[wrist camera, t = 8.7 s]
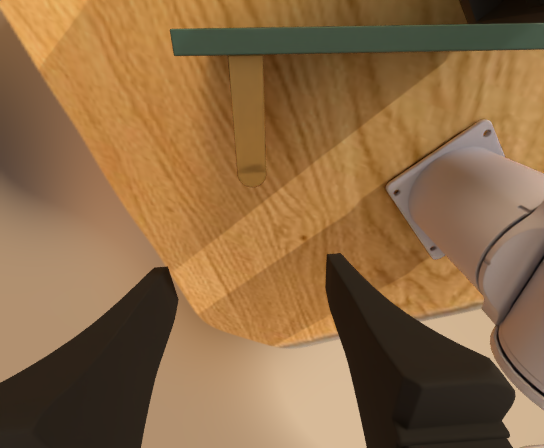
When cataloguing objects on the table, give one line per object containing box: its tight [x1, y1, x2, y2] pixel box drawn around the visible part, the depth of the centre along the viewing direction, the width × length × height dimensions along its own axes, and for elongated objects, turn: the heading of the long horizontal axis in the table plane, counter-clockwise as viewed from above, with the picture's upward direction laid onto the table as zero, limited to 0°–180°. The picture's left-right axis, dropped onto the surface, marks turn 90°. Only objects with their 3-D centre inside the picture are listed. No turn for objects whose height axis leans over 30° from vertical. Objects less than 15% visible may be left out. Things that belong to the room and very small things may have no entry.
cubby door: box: [170, 23, 544, 187], centre depth 15 cm, size 6×16×8 cm, turn 91°
